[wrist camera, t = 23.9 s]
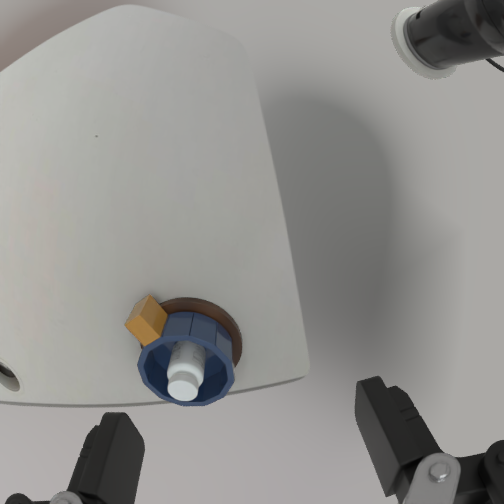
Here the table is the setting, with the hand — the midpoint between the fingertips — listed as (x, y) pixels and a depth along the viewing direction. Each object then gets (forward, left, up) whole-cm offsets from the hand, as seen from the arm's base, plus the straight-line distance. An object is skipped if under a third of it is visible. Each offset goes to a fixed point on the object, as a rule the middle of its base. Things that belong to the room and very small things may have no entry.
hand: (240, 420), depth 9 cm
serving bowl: (+10, +14, -27) cm, 32 cm away
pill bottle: (+9, +15, -26) cm, 31 cm away
